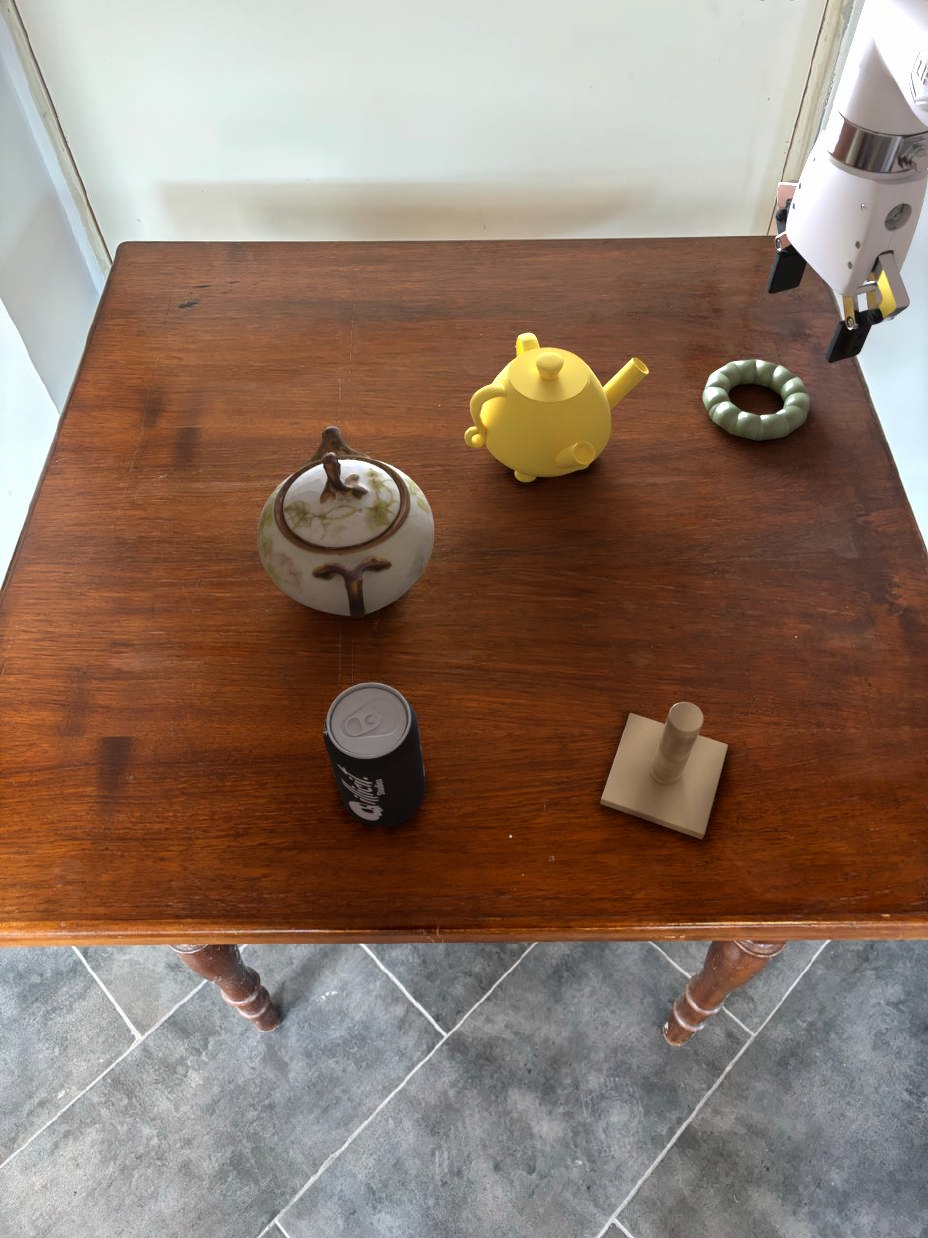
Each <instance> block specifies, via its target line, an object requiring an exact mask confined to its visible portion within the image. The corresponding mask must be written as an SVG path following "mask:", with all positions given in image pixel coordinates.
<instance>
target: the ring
mask: <svg viewBox="0 0 928 1238" xmlns="http://www.w3.org/2000/svg"><path fill="white" fill-rule="evenodd" d="M750 384H751V385H753V384H754V385H757V386H761V387H764V388H765V387H766V388H769V389H770V390H771V391H773V392H775V393H776V394H778V395H779V396H780V398H781V399H782V402H783V403H784V404H783V407H782V409H780V410H779V411H777V412H776V413H771V414H770V413H769V414H762V415H759V414H755V413H751V412H748V411H747V412H746V411H743V410H742V409H740V407H737V406H736V405H735V404H734V403H732V402H731V399H730V397H729V392H730V390H732V389H733V388H735V387H737V386H743V385H750ZM702 402H703V405H704V407H705V410H706V411H707V413H708V416H709V419H711V421H712V422H714V423H716V425H718V426H719V427H720V428H721V429H723V430H724V431H725V432H727V433H728V434H730V435H733V436H735V437H740V438H743V439H748V440H751V441H752V440H753V441H757V442H759V441H768V440H776V439H782V438H785V437H786V436H788V435H789V434H791V433H793V432H794V431H795V430H797V429H799V428H800V427H801V426H802V425H803V424H805V422H806V420H807V417H808V413H809V410H810V406H811V397H810V394H809V392H808V389H807V388H806V386H805V384H804V383H803V380H802V379H801V378H800V377H799V376H798V375H796V374H795V373H793V372H791V371H790V370H789V369H787V368H786V367H785V366H783V365H781V364H779V363H774V362H769V361H766V360H761V359H756V358H753V359H744V360H736V361H730V362H728V363H726V364H725V365H723V366H722V367H720V368H718V369H717V370H715V371H714V372H712V373H711V374H710V375H709V377H708V379H707V381H706V384H705V387H704V389H703V392H702Z"/></svg>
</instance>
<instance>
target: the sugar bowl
mask: <svg viewBox="0 0 928 1238" xmlns="http://www.w3.org/2000/svg"><path fill="white" fill-rule="evenodd" d="M340 432H341V431H340V429H339V427H337V426H334V425H329V426H327V427H326V428H324V429H323V431H322V433H321V443H320V445H319V447H318V449H317V450H316V452H315V453H314V454H313V455H312V456H311V457H310V458H309V459H307V460H306V461H304V462H303V463H302V464H301V466H300V467H299V469H298V470H297V471H295V472H294V473H292V474H291V475H289V476H288V477H287V478H286V479H284V480H283V481H282V482H280V484H279V485H278V486H276V488H275V489H274V491H272V493H271V494H270V495H269V496H268V498H267V500H266V502H265V503H264V506H263V508H262V510H261V513H260V516H259V519H258V523H257V530H256V545H257V550H258V551H257V552H258V555H259V556H258V557H259V559H260V562H261V565H262V567H263V569H264V571H265V572H266V574H267V576H268V577H269V578H270V580H271V581H272V583H273V584H274V585H275V586H276V587H277V588H278V589H279V590H280V592H282V593H283V594H284V595H285V596H287V597H289V598H290V599H292V600H294V601H296V602H297V603H299V604H301V605H303V606H305V607H309V608H312V609H314V610H317V611H320V612H323V613H328V614H333V615H339V616H345V617H353V618H354V619H360V618H364V617H365V616H366V615H369V614H371V613H373V612H375V611H376V612H377V611H378V610H380V609H382V608H386V607H387V606H389V605H391V604H392V603H394V602H395V601H398V600H399V599H400V598H402V597H403V596H404V595H405V594H406V593H407V592H408V591H410V589H411V588H412V587H413V586H414V585H415V584H416V583H417V582H418V580H419V579H420V577H421V576H422V575H423V573H424V572H425V570H426V568H427V566H428V564H429V562H430V559H431V556H432V553H433V549H434V545H435V521H434V515H433V511H432V508H431V506H430V503H429V501H428V499H427V497H426V495H425V494H424V492H423V491H422V490H421V488H420V487H419V486H418V484H416V482H415V481H414V480H412V479H411V478H410V476H408V475H407V474H406V473H404V472H402V470H400V469H398V468H396V467H395V466H393V465H391V464H388V463H386V462H383V461H381V460H377V459H374V458H370V456H369V455H368V454H366V453H364V452H361V451H358V450H355V449H353V448H352V447H350V446H349V445H348V443H346V442H345V441H344V439H343V438H342V436H341V433H340Z"/></svg>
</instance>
